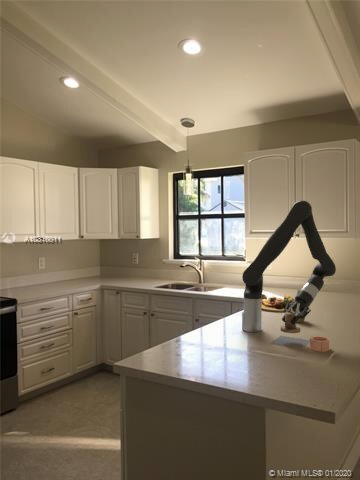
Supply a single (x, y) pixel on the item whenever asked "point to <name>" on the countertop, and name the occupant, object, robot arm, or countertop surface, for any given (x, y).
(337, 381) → the countertop surface
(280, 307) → the wooden plate with food
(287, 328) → the walnut lid
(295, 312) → the squeeze bottle
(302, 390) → the countertop surface
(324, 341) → the terracotta bowl
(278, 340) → the rubber mat
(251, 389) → the countertop surface
